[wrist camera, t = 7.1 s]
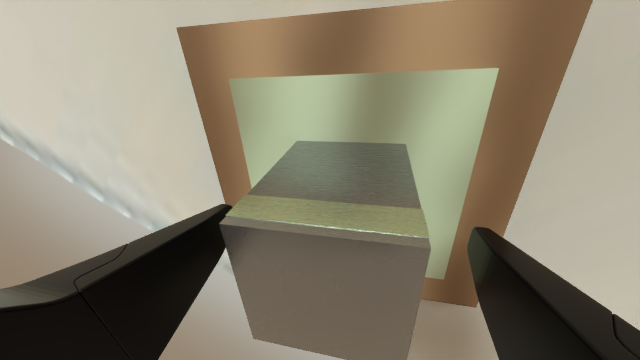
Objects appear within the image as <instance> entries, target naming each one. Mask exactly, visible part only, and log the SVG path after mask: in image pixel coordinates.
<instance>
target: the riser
mask: <svg viewBox="0 0 640 360" xmlns="http://www.w3.org/2000/svg"><path fill="white" fill-rule="evenodd" d="M592 1H593V0H452V1H442V2H432V3H422V4H412V5H401V6H391V7H381V8H371V9H361V10H351V11H341V12H331V13H320V14H310V15H300V16H290V17H280V18H270V19H260V20H249V21H239V22H229V23H219V24H209V25H199V26H189V27H178V28H177V32H178V35H179V39H180V42H181V46H182V50H183V53H184V57H185V60H186V64H187V67H188V71H189V75H190V78H191V82H192V85H193V89H194V93H195V96H196V100H197V103H198V107H199V110H200V114H201V118H202V121H203V125H204V128H205V132H206V136H207V139H208V143H209V146H210V150H211V153H212V157H213V161H214V164H215V168H216V171H217V175H218V179H219V182H220V186H221V189H222V193H223V196H224V200H225V204H228V205H231V206H232V207H234V206H235V205H236V204H237V203H238V202H239V201H240V199H241V198H242V197H243V196H244V195H245V194H246V195H247V194H248V193H249V191H250V190H251V189H252V188H253V187H254V186H255V185H256V184H257V183H258V182H259V181H260V180H261V179H262V178H263V177H264V175H265V174H266V173H267V172H268V171H269V170H270V169H271V168H272V167H273V166H274V165H275V164H276V163H277V162H278V161H279V160H280V158H281V157H282V156H283V155H284V154H285V153H286V152H287V151H288V150H289V149H290V148H291V147H292V146H293V145H294V144H295V142H296V141H326V142H361V143H396V144H406V147H407V151H408V155H409V159H410V163H411V167H412V172H413V176H414V180H415V184H416V188H417V192H418V196H419V200H420V204H421V209H423V212H424V216H425V220H426V224H427V228H428V232H429V236H430V239H429V241H430V245H431V252H430V256H429V261H428V265H427V270H426V274H425V279H424V284H423V288H422V293H421V297H420V299H424V300H431V301H437V302H444V303H450V304H457V305H463V306H470V307H476V306H477V304H478V301H479V300H478V297H477V294H476V290H475V285H474V281H473V276H472V272H471V267H470V263H469V258H468V253H467V245H468V241H469V238H470V234H471V231H472V229H473V228H474V227H487V228H489V229H491V230H492V231H494V232H495V233H497V234H498V235H500V236H501V237H503V235H504V233H505V230H506V227H507V225H508V222H509V219H510V217H511V214H512V212H513V209H514V206H515V204H516V201H517V198H518V196H519V193H520V190H521V188H522V185H523V183H524V180H525V177H526V175H527V172H528V169H529V167H530V164H531V161H532V159H533V156H534V154H535V151H536V148H537V146H538V143H539V140H540V138H541V135H542V132H543V130H544V127H545V125H546V122H547V119H548V117H549V114H550V111H551V109H552V106H553V103H554V101H555V98H556V96H557V93H558V90H559V88H560V85H561V82H562V80H563V77H564V74H565V72H566V69H567V67H568V64H569V61H570V59H571V56H572V53H573V51H574V48H575V46H576V43H577V40H578V38H579V35H580V32H581V30H582V27H583V24H584V22H585V19H586V17H587V14H588V11H589V9H590V6H591V3H592Z"/></svg>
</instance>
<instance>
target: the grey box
mask: <svg viewBox="0 0 640 360" xmlns="http://www.w3.org/2000/svg"><path fill="white" fill-rule="evenodd" d="M225 216H226V217H225V218H224V219H223V220H222V221H221V222H220V223H219V225H220V229H221V232H222V235H223V239H224V242H225V245H226V249H227V252H228V255H229V259H230V262H231V265H232V269H233V272H234V275H235V279H236V282H237V285H238V289H239V292H240V295H241V299H242V302H243V305H244V308H245V312H246V315H247V319H248V322H249V325H250V328H251V332H252V335H253V338H254V339H258V340H262V341H267V342H271V343H276V344H280V345H284V346H289V347H293V348H297V349H302V350H306V351H311V352H315V353H320V354H325V355H329V356H333V357H337V358H342V359H346V360H407V356H408V352H409V347H410V343H411V338H412V334H413V329H414V325H415V320H416V315H417V311H418V306H419V302H420V297H421V293H422V288H423V284H424V279H425V274H426V270H427V265H428V261H429V256H430V252H431V245H430V241H429V239H430V236H429V232H428V228H427V224H426V220H425V216H424V212H423V209H421V204H420V200H419V196H418V192H417V188H416V184H415V180H414V176H413V172H412V167H411V163H410V159H409V155H408V151H407V147H406V144H396V143H361V142H326V141H296V142H295V144H294V145H293V146H292V147H291V148H290V149H289V150H288V151H287V152H286V153H285V154H284V155H283V156H282V157H281V158H280V160H279V161H278V162H277V163H276V164H275V165H274V166H273V167H272V168H271V169H270V170H269V171H268V172H267V173H266V174H265V175H264V177H263V178H262V179H261V180H260V181H259V182H258V183H257V184H256V185H255V186H254V187H253V188H252V189H251V190H250V191H249V193H248V194H247V195H246V194H245V195H244V196H243V197H242V198H241V199H240V201H239V202H238V203H237V204H236V205H235V206H234V207H233V208H232V209H231V210H230V211H229V212H228V213H227V214H226V215H225Z"/></svg>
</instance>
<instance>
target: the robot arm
mask: <svg viewBox="0 0 640 360" xmlns="http://www.w3.org/2000/svg"><path fill="white" fill-rule="evenodd" d="M232 208H233V207H232V206H231V205H228V204H221V205H218V206H216V207H213V208H211V209H209V210H206V211H204V212H201V213H199V214H197V215H194V216H192V217H190V218H187V219H185V220H182V221H180V222H178V223H175V224H173V225H171V226H168V227H166V228H163V229H161V230H159V231H156V232H154V233H151V234H149V235H147V236H144V237H142V238H140V239H137V240H135V241H133V242H130V243H129V244H125V245H123V246H121V247H118V248H116V249H113V250H111V251H108V252H106V253H103V254H101V255H98V256H96V257H93V258H91V259H88V260H85V261H83V262H80V263H78V264H75V265H72V266H70V267H67V268H64V269H62V270H59V271H56V272H54V273H51V274H48V275H46V276H43V277H40V278H38V279H35V280H32V281H30V282H26V283H23V284H20V285H16V286H13V287H8V288H3V289H0V360H158V359H159V357H160V355H161V354H162V352H163V351H164V349H165V347H166V346H167V344H168V342H169V341H170V339H171V338H172V336H173V334H174V332H175V331H176V329H177V328H178V326H179V324H180V323H181V321H182V320H183V318H184V316H185V315H186V313H187V312H188V310H189V308H190V306H191V305H192V303H193V302H194V300H195V298H196V297H197V295H198V294H199V292H200V290H201V289H202V287H203V286H204V284H205V282H206V281H207V279H208V277H209V276H210V274H211V273H212V271H213V269H214V268H215V266H216V264H217V263H218V261H219V259H220V258H221V256H222V254H223V252H224V250H225V248H226V245H225V242H224V239H223V235H222V232H221V229H220V225H219V223H220V222H221V221H222V220H223V219H224V218H225V217H226V216H225V215H226V214H227V213H228V212H229V211H230V210H231V209H232ZM467 253H468V258H469V263H470V267H471V272H472V276H473V281H474V285H475V290H476V294H477V297H478V300H479V303H480V306H481V309H482V312H483V315H484V318H485V320H486V323H487V326H488V329H489V332H490V335H491V338H492V341H493V343H494V346H495V349H496V352H497V355H498V358H499V360H640V331H639V330H638V329H636V328H635V327H633V326H632V325H631V324H629V323H628V322H626V321H625V320H623V319H622V318H620V317H619V316H617V315H616V314H612V312H611V311H610V310H608V309H607V308H605V307H604V306H603V305H601V304H600V303H598V302H597V301H595V300H594V299H592V298H591V297H589V296H588V295H586V294H585V293H583V292H582V291H580V290H579V289H578V288H576V287H575V286H573V285H572V284H570V283H569V282H567V281H566V280H564V279H563V278H561V277H560V276H558V275H557V274H556V273H554V272H553V271H551V270H550V269H548V268H547V267H545V266H544V265H542V264H541V263H539V262H538V261H536V260H535V259H533V258H532V257H531V256H529V255H528V254H526V253H525V252H523V251H522V250H520V249H519V248H517V247H516V246H514V245H513V244H511V243H510V242H508V241H507V240H506V239H504V238H503V237H501V236H500V235H498V234H497V233H495V232H494V231H492V230H491V229H489V228H487V227H474V228H473V229H472V231H471V234H470V238H469V241H468V245H467Z"/></svg>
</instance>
